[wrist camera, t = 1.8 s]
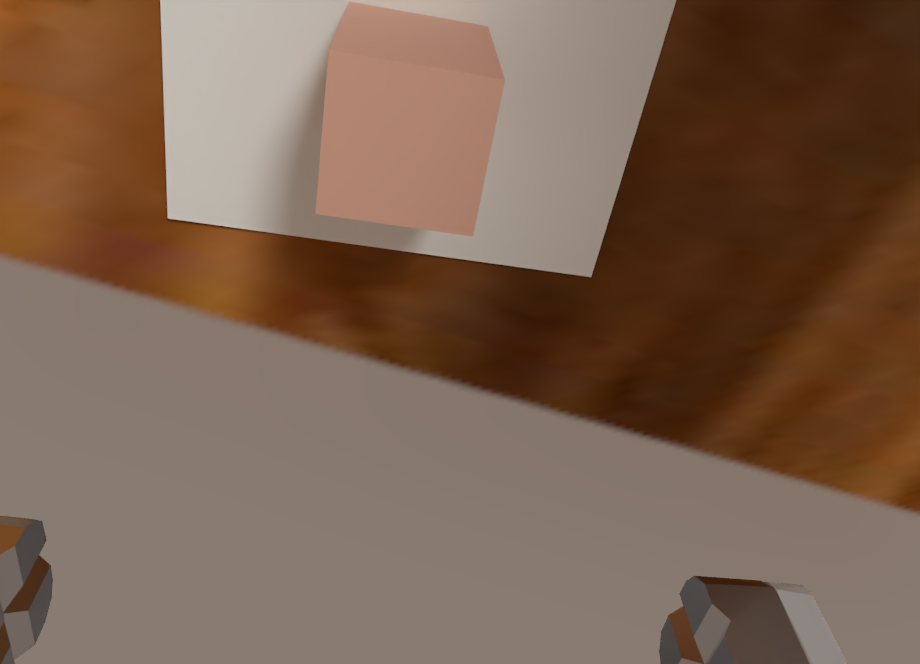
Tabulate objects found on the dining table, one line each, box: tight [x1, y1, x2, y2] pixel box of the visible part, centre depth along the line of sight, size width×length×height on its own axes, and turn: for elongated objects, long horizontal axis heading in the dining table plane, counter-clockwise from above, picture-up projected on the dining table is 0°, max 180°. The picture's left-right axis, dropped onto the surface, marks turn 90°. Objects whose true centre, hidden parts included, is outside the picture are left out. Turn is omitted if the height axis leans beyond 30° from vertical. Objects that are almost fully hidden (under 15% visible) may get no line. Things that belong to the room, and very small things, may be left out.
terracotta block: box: [315, 2, 505, 236], centre depth 26 cm, size 5×5×7 cm
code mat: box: [160, 0, 676, 277], centre depth 29 cm, size 18×14×1 cm
